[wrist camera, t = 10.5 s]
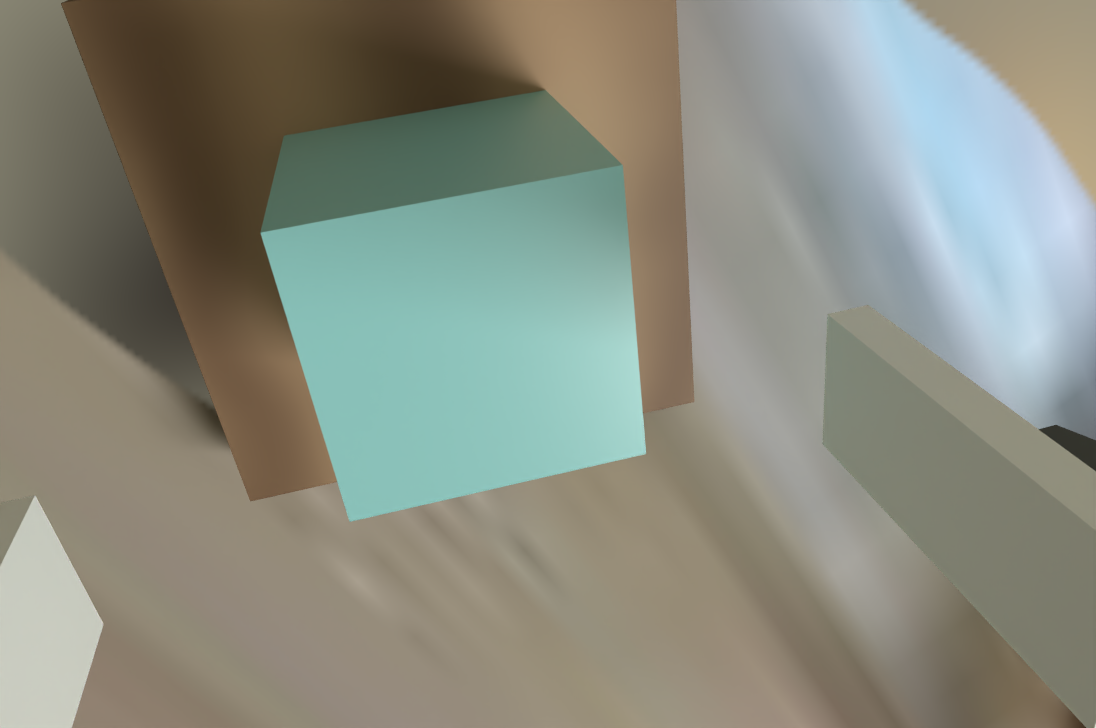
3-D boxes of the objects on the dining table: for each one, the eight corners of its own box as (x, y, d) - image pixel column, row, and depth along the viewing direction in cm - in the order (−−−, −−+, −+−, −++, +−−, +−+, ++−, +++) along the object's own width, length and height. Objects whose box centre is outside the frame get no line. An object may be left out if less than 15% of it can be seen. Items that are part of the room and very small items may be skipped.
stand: (257, 454, 28) (232, 622, 22) (89, -8, 21) (-23, 36, 14) (668, 364, 30) (759, 496, 23) (640, -92, 23) (759, -86, 16)
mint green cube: (348, 366, 24) (349, 521, 18) (283, 135, 21) (260, 232, 15) (573, 319, 25) (646, 453, 19) (545, 90, 22) (622, 164, 16)
